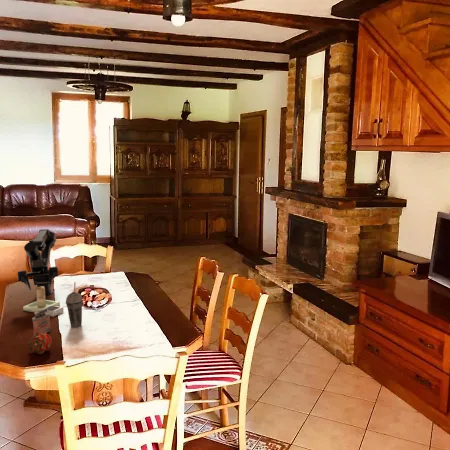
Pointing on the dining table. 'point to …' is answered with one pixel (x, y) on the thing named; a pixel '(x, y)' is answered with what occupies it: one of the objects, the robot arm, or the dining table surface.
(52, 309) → the pin socket
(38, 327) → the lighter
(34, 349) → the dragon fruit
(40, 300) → the pin
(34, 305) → the tray
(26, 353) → the dining table surface
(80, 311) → the beverage cup
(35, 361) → the dining table surface
